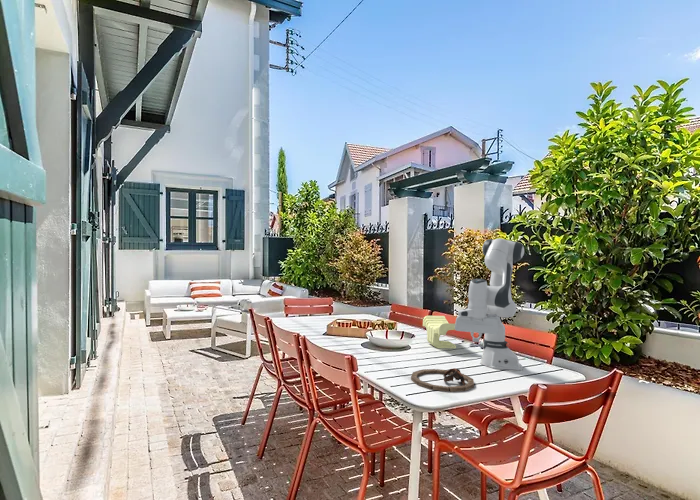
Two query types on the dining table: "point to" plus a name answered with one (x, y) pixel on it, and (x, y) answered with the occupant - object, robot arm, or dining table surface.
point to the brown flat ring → (440, 388)
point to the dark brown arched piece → (454, 375)
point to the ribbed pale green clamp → (438, 330)
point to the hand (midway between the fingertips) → (475, 341)
